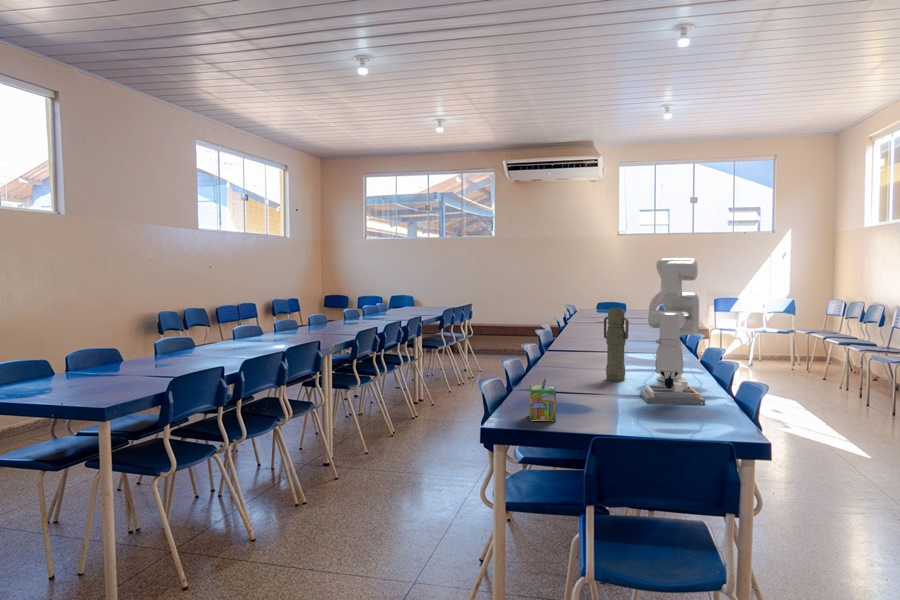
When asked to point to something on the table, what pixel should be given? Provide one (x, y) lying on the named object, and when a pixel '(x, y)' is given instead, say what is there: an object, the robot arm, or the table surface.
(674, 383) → the tab
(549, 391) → the chalk box
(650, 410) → the table surface
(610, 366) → the thermos
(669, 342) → the robot arm
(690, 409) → the table surface
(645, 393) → the switch board
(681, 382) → the tab
